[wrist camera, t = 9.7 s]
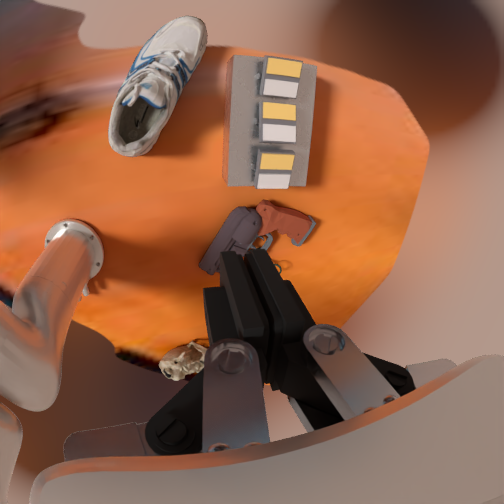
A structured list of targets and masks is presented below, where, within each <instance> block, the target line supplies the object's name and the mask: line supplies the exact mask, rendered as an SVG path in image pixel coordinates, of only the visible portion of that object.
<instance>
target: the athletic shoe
mask: <svg viewBox="0 0 504 504" xmlns="http://www.w3.org/2000/svg"><path fill="white" fill-rule="evenodd" d="M206 44H207V30H206V26H205V24H204V22H203V21H202V20H201V19H199V18H196V17H193V16H184V17H179V18H177V19H175V20H173V21H171V22H169V23H167V24H165V25H164V26H162V27H161V28H160V29H159V30H158V31H157V32H156V33H155V34H154V35H153V36H152V37H151V38H150V39H149V40H148V41H147V42H146V43H145V44H144V46H143V47H142V49H141V50H140V52H139V54H138V55H137V57H136V58H135V60H134V62H133V64H132V66H131V68H130V71H129V73H128V76H127V77H126V79H125V81H124V83H123V84H122V86H121V88H120V89H119V91H118V94H117V98H116V100H115V102H114V105H113V108H112V112H111V117H110V122H109V130H108V137H109V143H110V146H111V147H112V149H113V150H114V151H115V152H117V153H119V154H121V155H124V156H128V157H137V156H140V155H143V154H145V153H148V152H149V151H150V150H151V148H152V146H153V145H154V144H155V143H156V141H157V139H158V137H159V135H160V131H161V130H162V129H163V127H164V126H165V125H166V123H167V122H168V120H169V118H170V116H171V114H172V112H173V109H174V107H175V105H176V103H177V101H178V99H179V97H180V95H181V93H182V89H183V88H184V86H185V85H186V83H187V82H188V81H189V79H190V77H191V75H192V73H193V72H194V70H195V69H196V66H197V65H198V64H199V63H200V61H201V59H202V55H203V54H204V52H205V50H206Z"/></svg>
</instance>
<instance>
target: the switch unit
mask: <svg viewBox="0 0 504 504" xmlns="http://www.w3.org/2000/svg"><path fill="white" fill-rule="evenodd" d="M263 64H264V57H254V56H242V55H233V56H232V57H231V59H230V60H229V61H228V62H227V74H226V91H225V112H224V135H223V166H222V177H223V179H224V180H225V182H226V184H227V186H254V179H255V172H256V164H257V156H258V149H259V148H262V149H285V150H293V151H294V152H295V153H296V154H295V158H294V163H293V168H292V173H291V178H290V183H289V186H306V179H307V171H308V162H309V153H310V143H311V134H312V123H313V112H314V100H315V88H316V74H317V66H314V65H309V64H304V63H303V65H302V70H301V76H300V81H299V87H298V92H297V98H296V99H292V98H283V97H274V96H262V95H260V94H259V93H260V85H261V78H262V71H263ZM261 101H268V102H279V103H288V104H296V144H277V143H259V103H260V102H261Z"/></svg>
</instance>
